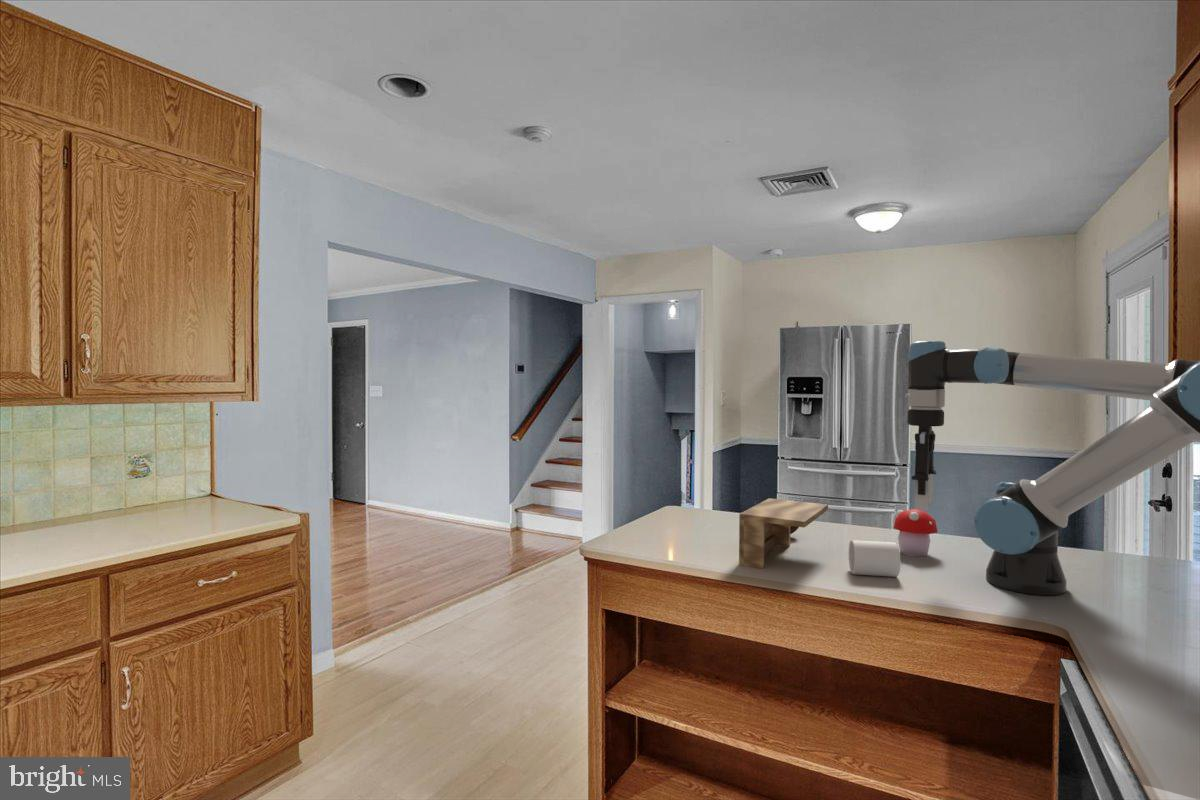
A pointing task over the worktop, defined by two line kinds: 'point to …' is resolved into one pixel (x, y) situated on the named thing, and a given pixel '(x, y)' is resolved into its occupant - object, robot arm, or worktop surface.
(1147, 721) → the worktop surface
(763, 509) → the small wooden shelf
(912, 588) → the worktop surface
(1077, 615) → the worktop surface
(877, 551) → the mug
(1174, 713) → the worktop surface
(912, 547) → the mushroom
